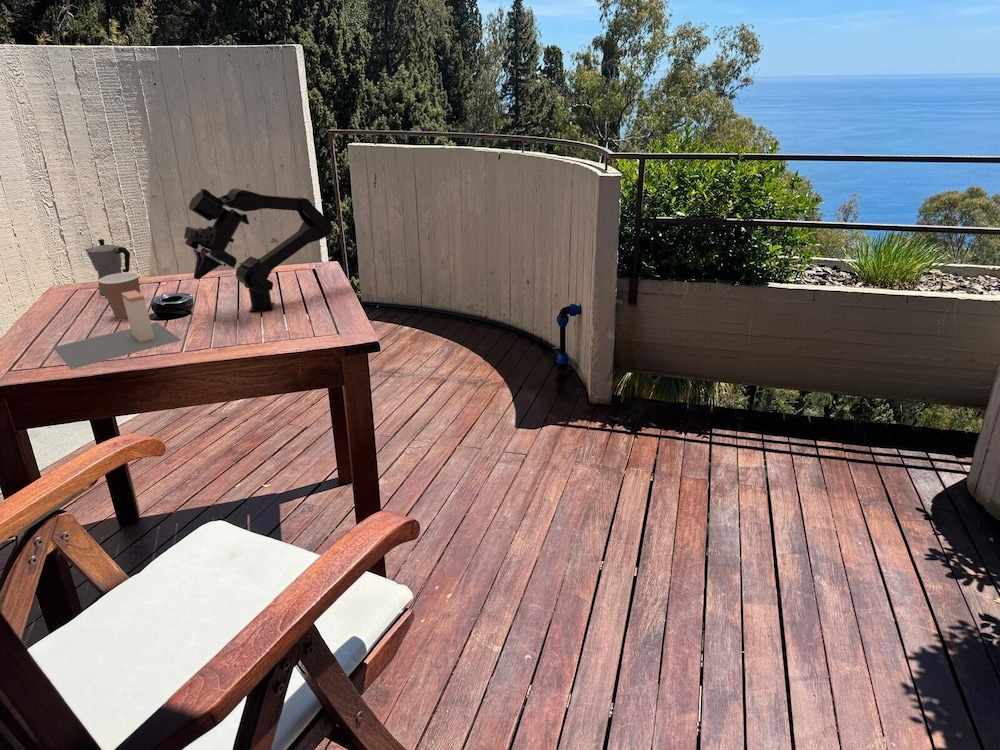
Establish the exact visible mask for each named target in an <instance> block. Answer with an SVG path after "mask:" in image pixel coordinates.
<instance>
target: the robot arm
mask: <svg viewBox="0 0 1000 750" xmlns="http://www.w3.org/2000/svg"><path fill="white" fill-rule="evenodd" d="M189 201H190V202H189V205H188V209H189V210H190V211H192V212H193V213H195V215H196V214H197V215H198V216H199V217H202V218H203V219H205V220H207V221H208V222H211V221H212V220H214V223H213V224H212V226H207V227H206V228H203V227H199V228H196V227H192V226H191V227H190V226H185V232H184V239H185V242H184V244H185V245H186V246H188V247H190V248H192V249H193V250H192V251H193V253H194V254H195V257H196V263H195V268H194V273H193V279H196V280H197V281H198V280H200V279H202V278H203V277H205V276H206V275H207V274H209V273H210V272H212V271H213V270H215V269H217V268H219V267H221V266H223V264H222V263H224V264H226V265H227V266H229V267H230V268H233V269H234V268H235V267H236V265H237V263H238V260H237V258H236V257H235V256H234V255H232V254H230V253H228V252H227V251H226V249H227V247H228V245H229V244H230V243H232V244H234V241H235V239H234V238H233V237H234V235H235V233H236V231H237V230H238V228H239V226H240V225H241V223H242V224H244V225H249V224H250V221H249V219H248V214H246V213H239V212H238V211H241V212H253V211H258V210H264V209H265V210H266V209H269V210H282V211H297V214H298V215H299V218H300V219H301V221H303V222H302V223H301V225H300V227H299V229H298V230H297V231H296V232H295V233H293V234H292V235H291V236H289V237H288V238H286V239H285V240H284V241H283V242H281V243H279V244H278V245H277V246H275V247H274V248H272V249H271V250H270V251H269V252H267V253H265V254H264V255H263V256H261V257H259V258H256V257H254V256H251V255H250V256H249V257H248V258H246V259H245V260H244V261H242V262H239V263H238V264H239V266H238V267H237V268H236V269H235V278H236V280H237V281H238V282H239V283H241V284H243V286H244V288H246V289H248V294H249V299H250V304H251V306H250V309H249V313H259V312H269V311H274V307H275V302H272V297H271V291H272V290H273V288H274V282H272V281H271V280H270V279H268V278H269V276H270V275H271V273H272V272H273V270H274V269H276V268H277V267H278V266H279V265H281V264H282V263H283V262H285V261H286V260H288V259H290V257H292V256H293V255H294V254H296V253H297V252H299V251H300V250H302V248H304V247H306V246H307V245H308V244H310V243H314V242H318V241H321V240H322V239H324V238H326V237H328V236H330V235H331V234H332V232H333V224H332V221H331V220H330V219H329V218H327V217H325V216H324V215H323V213H322V212H320V210H318V208H316V207H315V205H313V204H312V202H311V201H310V200H309V199H308V198H305V197H301V196H294V197H293V196H284V195H283V196H282V195H269V194H261V193H257V192H252V191H249V190H247V189H242V188H237V187H236V188H234V187H233V188H231V189H230V190H229V191H228V192H227V194H224V195H222V196H219V197H217V196H215V194H212V193H211V192H210V191H209V190H207V189H206V188H201V189H200V191H199V192H197V193H196V194H195V195H194V196H193V197H192V198H191V200H189ZM224 207H227V208H230V209H229V210H228V209H226V208H224ZM234 209H235V210H234ZM237 210H238V211H237Z"/></svg>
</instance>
